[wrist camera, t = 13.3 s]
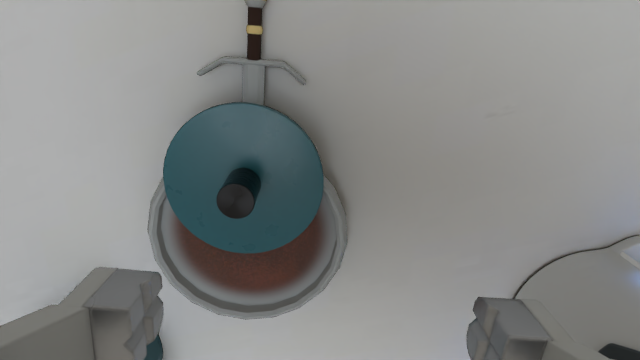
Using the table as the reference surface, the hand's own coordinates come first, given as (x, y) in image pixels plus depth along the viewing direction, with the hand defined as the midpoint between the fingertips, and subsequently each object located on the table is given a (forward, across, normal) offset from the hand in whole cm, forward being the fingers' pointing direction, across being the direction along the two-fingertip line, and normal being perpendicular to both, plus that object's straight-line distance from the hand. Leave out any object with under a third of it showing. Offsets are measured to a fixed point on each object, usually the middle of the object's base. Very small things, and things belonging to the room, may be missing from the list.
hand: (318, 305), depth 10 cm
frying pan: (+24, +5, +4) cm, 25 cm away
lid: (+21, +5, +4) cm, 22 cm away
